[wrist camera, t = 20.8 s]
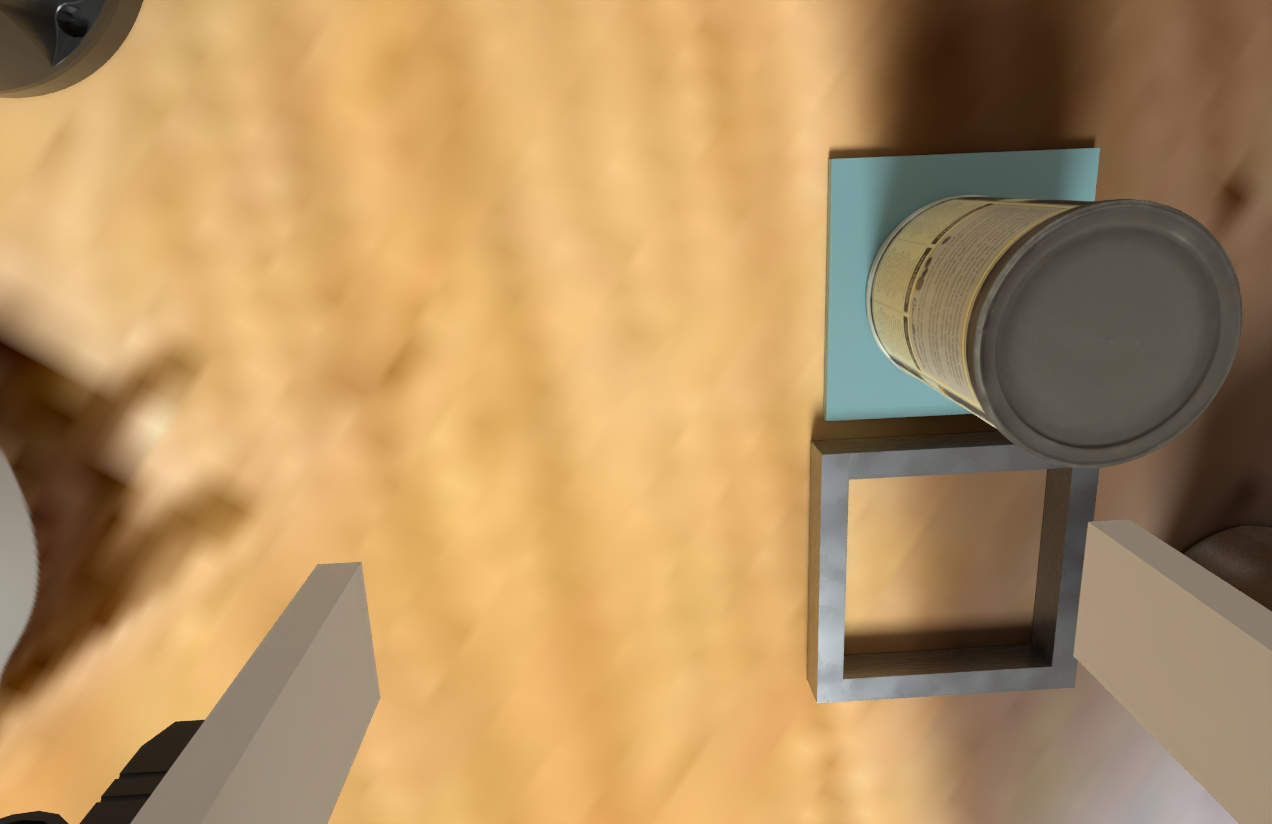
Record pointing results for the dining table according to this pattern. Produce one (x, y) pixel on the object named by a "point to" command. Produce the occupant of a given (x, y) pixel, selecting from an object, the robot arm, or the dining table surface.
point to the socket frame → (945, 668)
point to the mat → (863, 219)
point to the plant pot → (1239, 560)
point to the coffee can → (1061, 319)
